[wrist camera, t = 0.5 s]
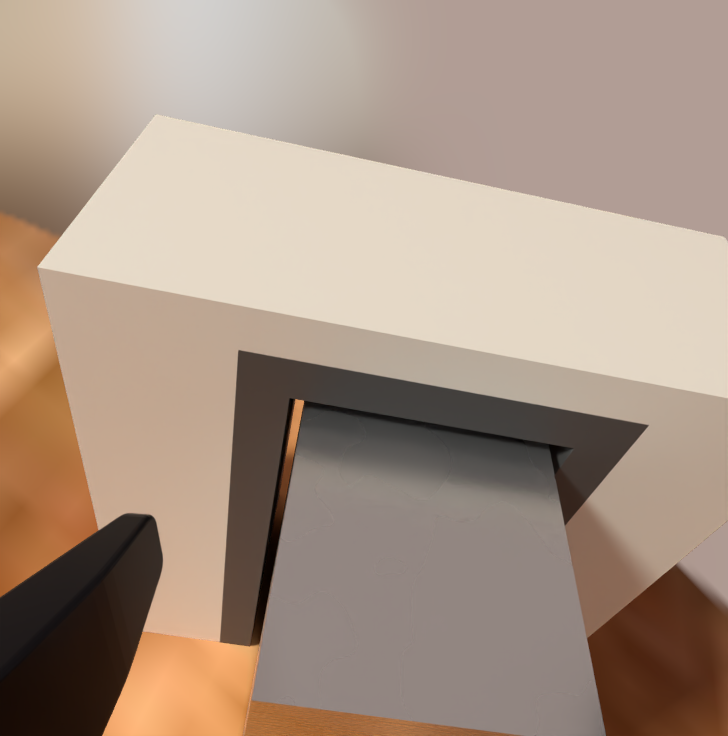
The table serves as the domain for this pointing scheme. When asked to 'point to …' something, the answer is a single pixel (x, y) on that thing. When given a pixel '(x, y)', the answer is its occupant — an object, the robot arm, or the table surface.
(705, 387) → the housing
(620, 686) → the table surface
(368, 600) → the light grey rectangular block
